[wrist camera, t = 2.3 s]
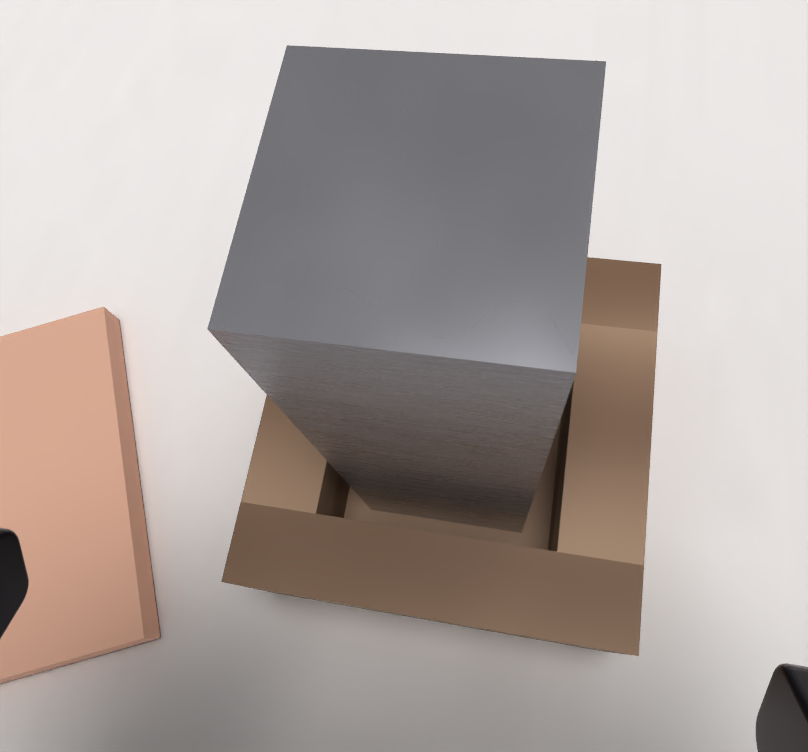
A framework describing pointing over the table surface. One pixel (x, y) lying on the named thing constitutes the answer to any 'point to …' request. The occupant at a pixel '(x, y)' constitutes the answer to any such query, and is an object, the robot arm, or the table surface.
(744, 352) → the table surface
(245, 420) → the table surface
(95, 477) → the mat
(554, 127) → the peg
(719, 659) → the table surface
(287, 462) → the socket block
